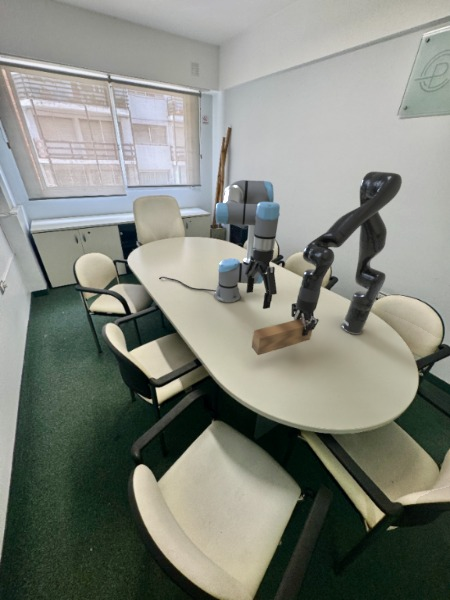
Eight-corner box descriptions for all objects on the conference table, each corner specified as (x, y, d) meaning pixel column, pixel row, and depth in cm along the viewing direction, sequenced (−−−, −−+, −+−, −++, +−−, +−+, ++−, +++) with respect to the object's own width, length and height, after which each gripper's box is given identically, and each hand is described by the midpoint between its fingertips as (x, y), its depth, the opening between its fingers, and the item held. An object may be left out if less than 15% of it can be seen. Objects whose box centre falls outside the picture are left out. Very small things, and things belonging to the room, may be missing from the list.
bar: (257, 355, 94) (260, 338, 89) (251, 347, 98) (253, 330, 93) (309, 339, 103) (314, 323, 98) (302, 332, 107) (306, 317, 102)
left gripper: (293, 258, 78) (283, 313, 89) (255, 238, 98) (251, 285, 109) (273, 261, 76) (265, 317, 86) (239, 239, 96) (236, 287, 106)
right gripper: (329, 304, 88) (318, 339, 97) (304, 286, 99) (296, 320, 108) (313, 307, 85) (303, 344, 94) (289, 289, 97) (282, 323, 105)
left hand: (257, 299), depth 98 cm, fingers open, 13 cm apart
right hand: (299, 331), depth 101 cm, fingers closed on bar, 5 cm apart
